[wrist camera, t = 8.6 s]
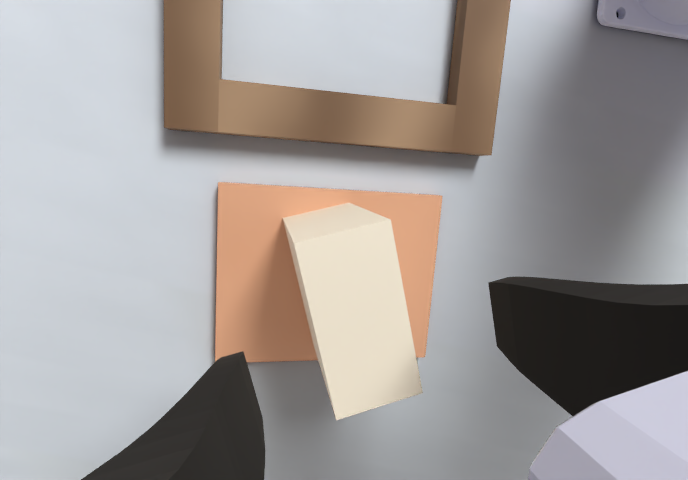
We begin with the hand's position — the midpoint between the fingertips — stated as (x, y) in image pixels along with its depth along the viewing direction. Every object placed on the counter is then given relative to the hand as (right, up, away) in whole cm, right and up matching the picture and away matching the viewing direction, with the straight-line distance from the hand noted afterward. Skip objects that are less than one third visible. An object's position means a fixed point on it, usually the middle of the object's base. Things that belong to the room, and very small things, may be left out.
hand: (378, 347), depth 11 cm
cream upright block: (-2, +1, +7) cm, 8 cm away
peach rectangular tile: (-2, +1, +8) cm, 8 cm away
